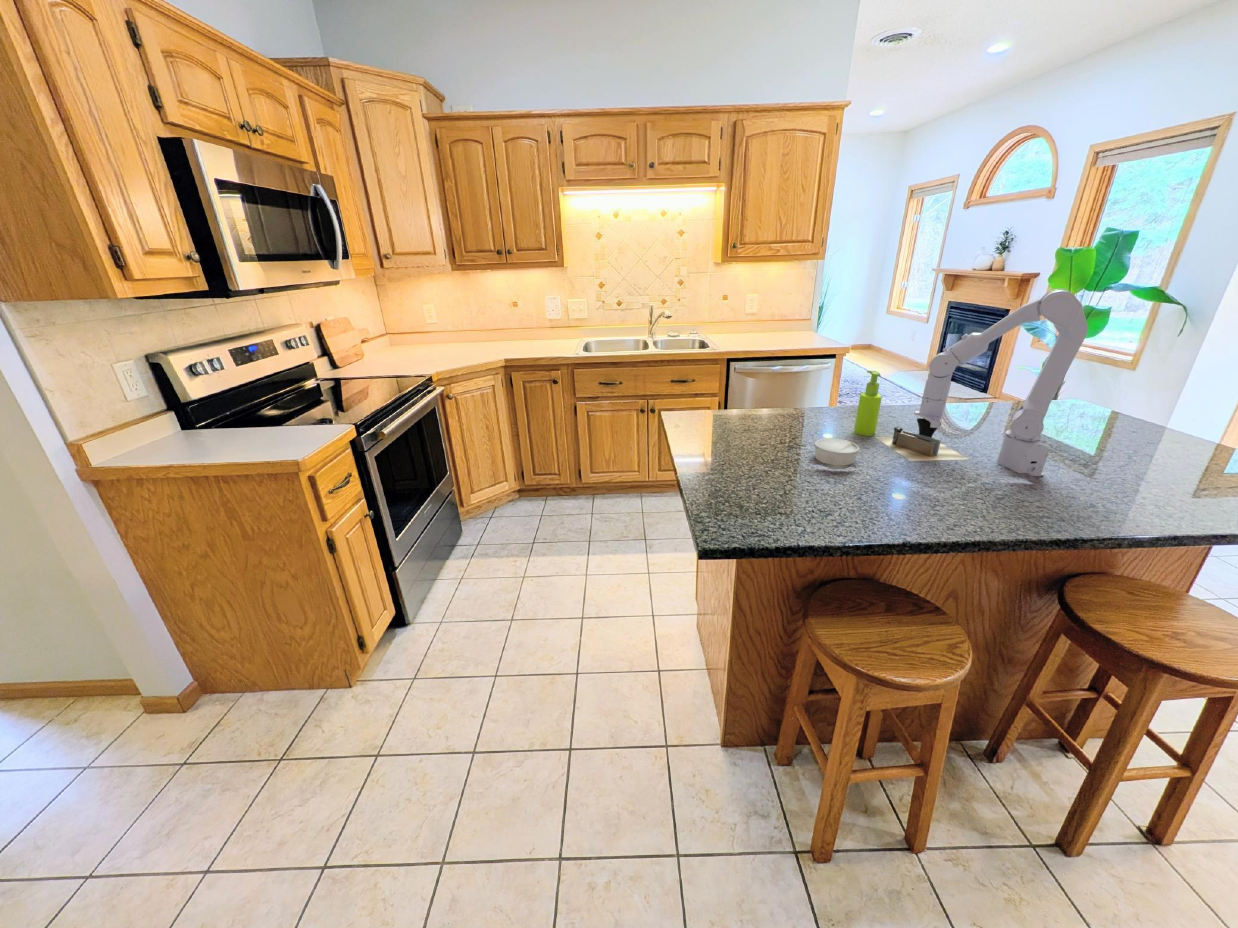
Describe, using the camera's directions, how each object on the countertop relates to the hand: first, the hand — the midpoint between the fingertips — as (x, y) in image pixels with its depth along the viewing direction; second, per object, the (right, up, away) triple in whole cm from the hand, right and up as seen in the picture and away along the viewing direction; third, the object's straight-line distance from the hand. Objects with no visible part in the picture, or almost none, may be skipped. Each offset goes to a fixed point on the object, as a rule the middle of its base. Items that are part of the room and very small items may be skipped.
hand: (923, 444), depth 141 cm
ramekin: (-27, -6, -5) cm, 28 cm away
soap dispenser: (-10, +3, +15) cm, 18 cm away
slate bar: (-2, -1, 0) cm, 2 cm away
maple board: (-1, -2, +1) cm, 3 cm away
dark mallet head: (-3, -1, 0) cm, 4 cm away
